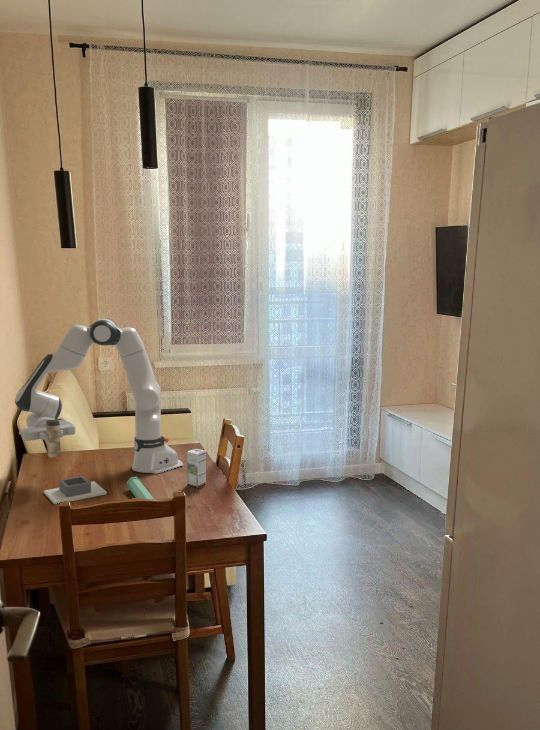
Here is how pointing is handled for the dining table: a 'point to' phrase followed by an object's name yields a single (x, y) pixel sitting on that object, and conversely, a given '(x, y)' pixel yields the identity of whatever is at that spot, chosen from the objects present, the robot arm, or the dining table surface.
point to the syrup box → (196, 467)
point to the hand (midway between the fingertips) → (54, 436)
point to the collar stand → (74, 490)
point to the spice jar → (53, 438)
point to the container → (138, 488)
